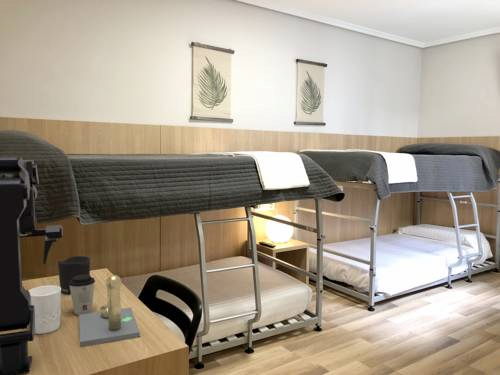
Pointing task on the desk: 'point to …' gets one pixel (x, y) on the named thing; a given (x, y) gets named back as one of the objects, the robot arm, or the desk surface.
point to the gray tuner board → (106, 328)
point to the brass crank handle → (113, 303)
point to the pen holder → (72, 270)
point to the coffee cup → (82, 293)
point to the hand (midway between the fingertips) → (25, 265)
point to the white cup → (46, 308)
